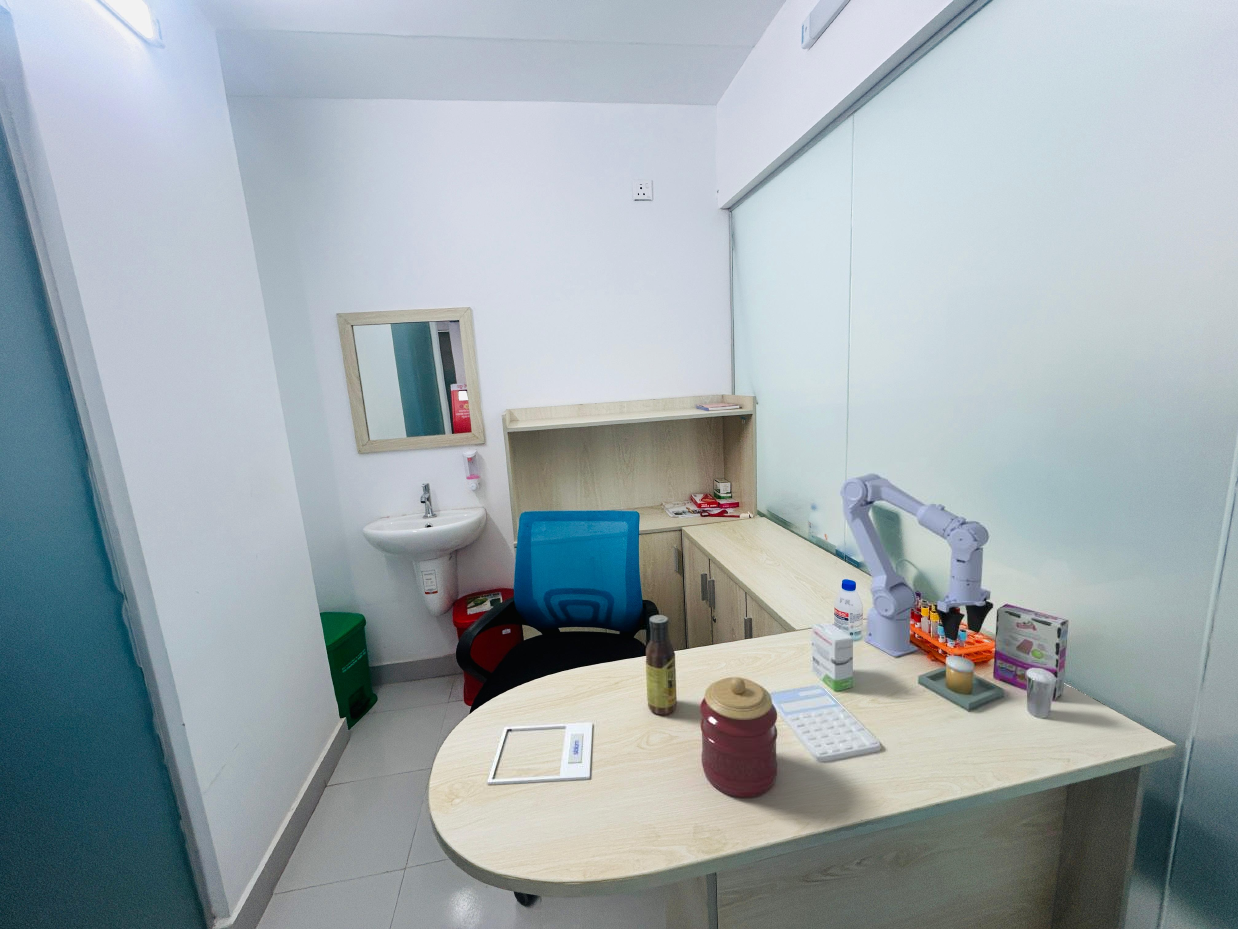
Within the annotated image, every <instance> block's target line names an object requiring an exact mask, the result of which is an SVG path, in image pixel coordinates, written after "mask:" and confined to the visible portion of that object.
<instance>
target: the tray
mask: <svg viewBox="0 0 1238 929" xmlns="http://www.w3.org/2000/svg"><path fill="white" fill-rule="evenodd" d="M917 678H918V679H917V681H918V682H917V684H918V685H920V686H922V687H924V688H925V689H927V690H929V691H930V692H933V693H934V694H936V695H938V696H940V697H942V698H944V700H945V699H946V700H947V701H949V702H951V703H952V704H954V705H955V706H957V707H960V708H961V709H963V710H965V712H966V711H967V712H971V711H973V710H976V709H978V708H982V707H983V706H986V705H988V704H990V703H994V702H995V701H997V700H1000V699H1003V698H1004V697H1005V688H1003V687H1000V686H999V685H997V684H995V683H992V682H991V681H989V680H987V679H984V678H983V677H980V676H978V675H976V674H975V673H973V685H972V693H971V694H967V695H963V694H958V693H955V692H953V691H951V690H949V689H947V688H946V686H945V680H946V665H945V666H942V667H939V668H936V669H933V670H931V671H928V672H925V673H922V674H920V675H917Z"/></svg>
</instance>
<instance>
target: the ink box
mask: <svg viewBox="0 0 1238 929" xmlns="http://www.w3.org/2000/svg"><path fill="white" fill-rule="evenodd" d="M811 647H812V648H811V672H812V674H814V675H815V676H816V677H817V678H819V679H820V680H821V681H822V682H823V683H825V684H826V685H827V686H828V687H829V688H830V689H831V690H833V691H834V692H838V691H843V690H847V689H850V688H853V687H854V685H853V684H854V677H853V676H854V638H853V637H852V636H850V635H849V634H847V633H845V632H844V631H843V630H841V629H840V628H838V627H837V626H835V625H834V624H832V623H831V622H824V623H818V624H817V623H816V624H812V626H811Z"/></svg>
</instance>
